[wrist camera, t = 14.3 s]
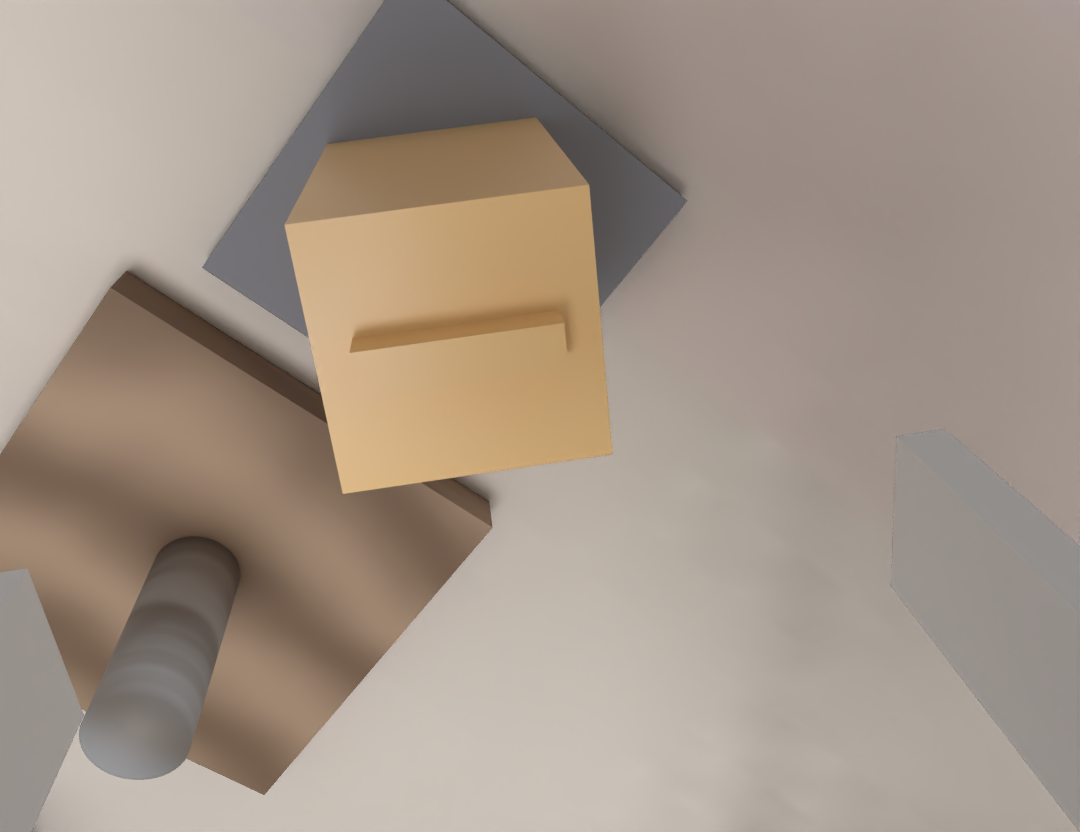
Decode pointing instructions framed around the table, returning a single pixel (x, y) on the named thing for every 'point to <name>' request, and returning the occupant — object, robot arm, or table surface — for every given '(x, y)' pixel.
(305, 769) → the table surface
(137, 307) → the wooden base with post
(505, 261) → the tan tall block
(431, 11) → the pad
